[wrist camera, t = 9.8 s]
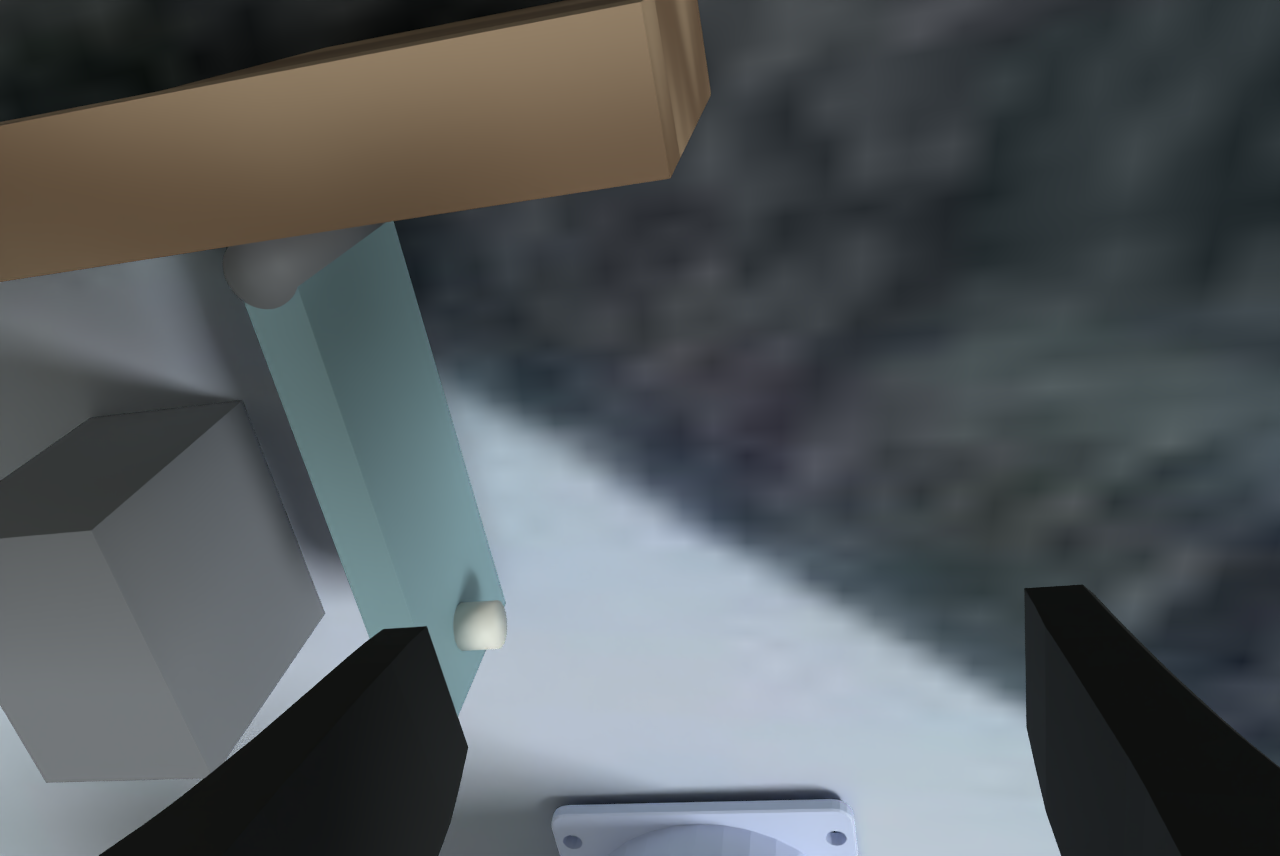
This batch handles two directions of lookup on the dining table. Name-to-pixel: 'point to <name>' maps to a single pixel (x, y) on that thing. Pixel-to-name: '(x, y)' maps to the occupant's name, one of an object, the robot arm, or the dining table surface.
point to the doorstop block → (146, 594)
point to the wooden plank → (359, 136)
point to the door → (376, 435)
